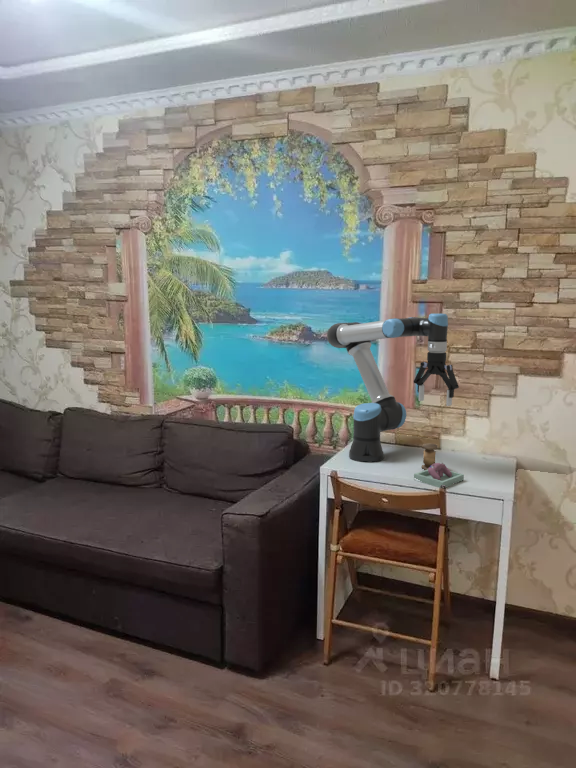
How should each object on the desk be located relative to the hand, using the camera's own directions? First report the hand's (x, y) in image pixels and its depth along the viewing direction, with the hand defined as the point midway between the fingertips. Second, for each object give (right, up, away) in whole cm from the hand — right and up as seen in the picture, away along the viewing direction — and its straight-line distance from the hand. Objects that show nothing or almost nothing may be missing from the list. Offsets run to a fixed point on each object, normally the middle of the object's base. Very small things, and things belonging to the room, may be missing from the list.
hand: (434, 403), depth 238 cm
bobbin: (-2, -27, 0) cm, 27 cm away
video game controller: (-2, -29, -14) cm, 32 cm away
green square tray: (-2, -29, -14) cm, 33 cm away
